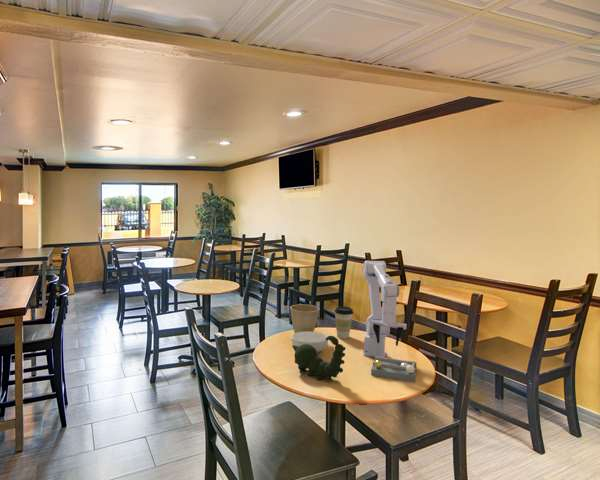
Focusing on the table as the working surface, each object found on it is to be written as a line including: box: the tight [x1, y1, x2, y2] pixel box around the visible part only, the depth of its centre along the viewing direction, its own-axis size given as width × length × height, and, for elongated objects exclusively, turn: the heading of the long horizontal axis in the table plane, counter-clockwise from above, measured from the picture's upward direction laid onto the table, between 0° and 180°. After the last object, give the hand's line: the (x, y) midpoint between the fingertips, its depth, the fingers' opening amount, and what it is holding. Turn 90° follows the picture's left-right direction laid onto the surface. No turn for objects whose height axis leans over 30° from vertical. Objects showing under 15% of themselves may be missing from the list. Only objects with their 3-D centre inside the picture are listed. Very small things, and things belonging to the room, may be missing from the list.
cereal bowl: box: [291, 331, 329, 353], centre depth 184 cm, size 17×17×7 cm
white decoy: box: [406, 365, 414, 373], centre depth 156 cm, size 3×3×3 cm
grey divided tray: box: [370, 356, 417, 383], centre depth 163 cm, size 17×14×4 cm
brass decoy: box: [374, 360, 382, 368], centre depth 160 cm, size 3×3×3 cm
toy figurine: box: [291, 335, 346, 382], centre depth 157 cm, size 9×19×25 cm
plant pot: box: [289, 303, 320, 334], centre depth 201 cm, size 15×15×16 cm
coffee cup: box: [333, 306, 354, 340], centre depth 206 cm, size 10×10×15 cm
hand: (387, 343), depth 166 cm, fingers open, 7 cm apart
